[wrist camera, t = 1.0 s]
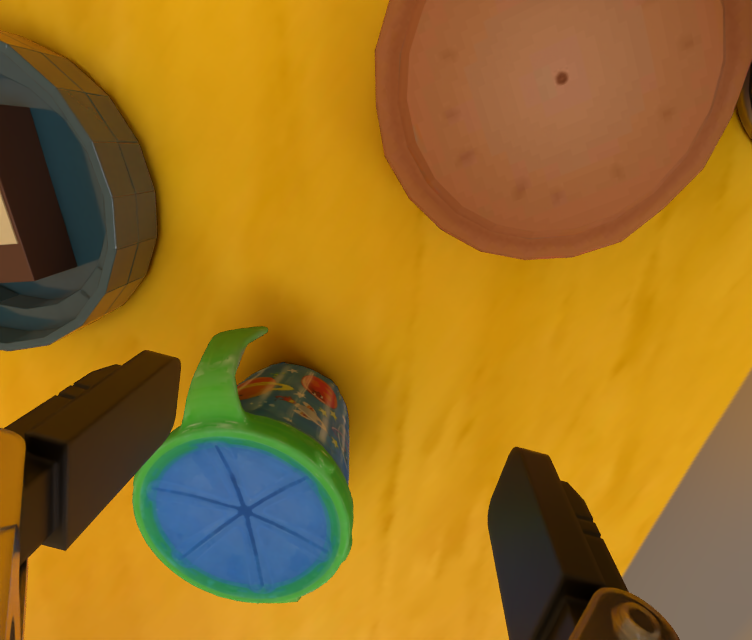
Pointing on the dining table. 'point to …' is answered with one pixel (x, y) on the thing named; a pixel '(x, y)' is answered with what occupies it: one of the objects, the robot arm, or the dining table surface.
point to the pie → (554, 112)
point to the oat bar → (28, 205)
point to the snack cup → (251, 480)
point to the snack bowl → (78, 197)
